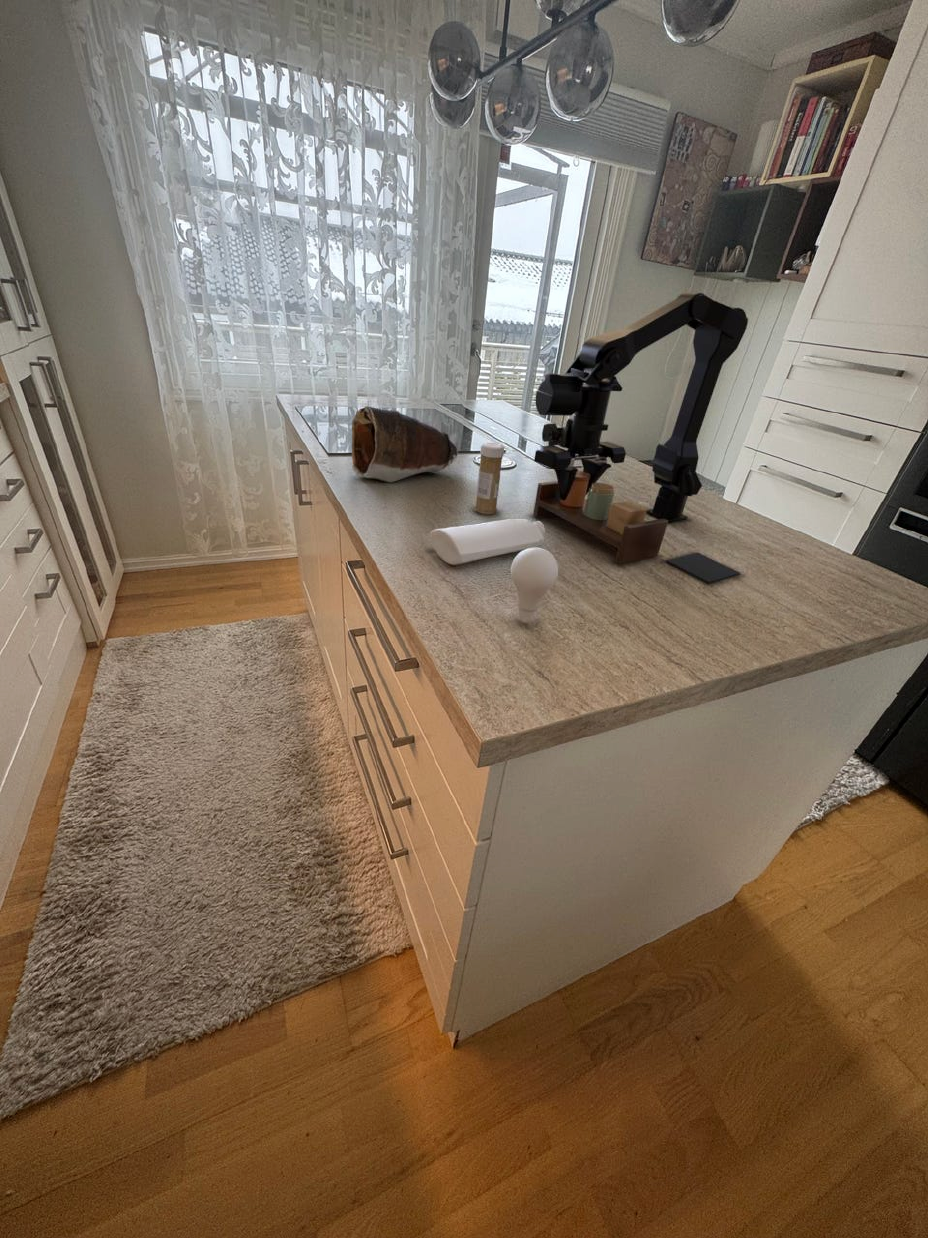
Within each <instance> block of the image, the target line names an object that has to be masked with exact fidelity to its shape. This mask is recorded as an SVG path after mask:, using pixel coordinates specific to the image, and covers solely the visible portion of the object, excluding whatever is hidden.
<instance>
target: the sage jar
mask: <svg viewBox="0 0 928 1238" xmlns="http://www.w3.org/2000/svg"><path fill="white" fill-rule="evenodd" d="M614 495H615V491H614V486H613V485H611V484H608V483H603V482H596V483H593V484H592V487H590V489H589V492H588V493H587V498H586V500H587V502H586V507H585V511H584V515H585V516H586V517H588V518H591V519H594V520H606V519H608V516H609V512H610V509H611V505H612V503H613V500H614V497H615V496H614Z"/></svg>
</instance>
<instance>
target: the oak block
mask: <svg viewBox="0 0 928 1238" xmlns="http://www.w3.org/2000/svg"><path fill="white" fill-rule="evenodd" d="M647 510H648V508H645V507H644V506H642V505H640V504H637V503H634V502H632V501H630V500H625V501H620V502H619V501H618V502H612V504H611V508H610V513H609V517H608V521H607V525H606V527H608V528H610V529H612V530H614V531H616V532H618V533H620V534H623V531H624V527H625V526H626V525H631V524H636V523H642V522H645V517H646V514H647Z"/></svg>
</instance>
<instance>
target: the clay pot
mask: <svg viewBox="0 0 928 1238" xmlns="http://www.w3.org/2000/svg"><path fill="white" fill-rule="evenodd" d="M458 456H459V451H458V448H457V446H456V445H455V443H454V442H452V441H451V440H450V437H449V434H448V433H446V432H445V431H440V430H438V429H437V428H435V427H434V426H431V425H430V424H429V423H426V422H423V421H420V420H419V419H417V418H415V417H411V416H408V415H406V414H403V413H401V412H400V411H399V410H390V409H389V410H388V409H383V408H378V407H373V406H364V407H362V408H359V409H358V410H357V411H356V412H355V414H354V418H353V419H352V422H351V458H352V459H351V460H352V469H353V471H354V473H355V475H356V476H357V477H359V478H366V479H372V480H376V481H381V482H386V483H389V484H390V483H394V482H397V481H400V480H402V479H405V478H407V477H411V476H414V475H417V474H421V473H425V472H432V473H439V472H441V471H443V470H445V469H446V468H447V467H450V466H451V465H452V464H453V463H455V460H456V459H458Z"/></svg>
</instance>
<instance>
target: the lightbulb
mask: <svg viewBox="0 0 928 1238" xmlns="http://www.w3.org/2000/svg"><path fill="white" fill-rule="evenodd" d="M510 576H511V579H512V582H513V584H514V587H515V591H516V595H517V597H516V598H517V599H516V604H517V613H516V617H517V619H518V621H521V622H522V623H523V624H530V623H533V622H534V621H536V617H537V615H538V610H539V609H540V607H541V604H542V601H543V599H544V597H545V596H546V594H547V593H548V592H549V591H550V590H551V589H552V587H553V586H555V583H556V582H557V580H558V576H559V565H558V562H557V559H556V558H555V557H554V555H553V554H552V553H551V552H550V551H548V550H547V549H544V548H542V547H539V546H538V547H533V548H528V549H525V550H522V551H519V552H518V554H517V555H516V556H515V557H514V559H513V560H512V563H511V567H510Z"/></svg>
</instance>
